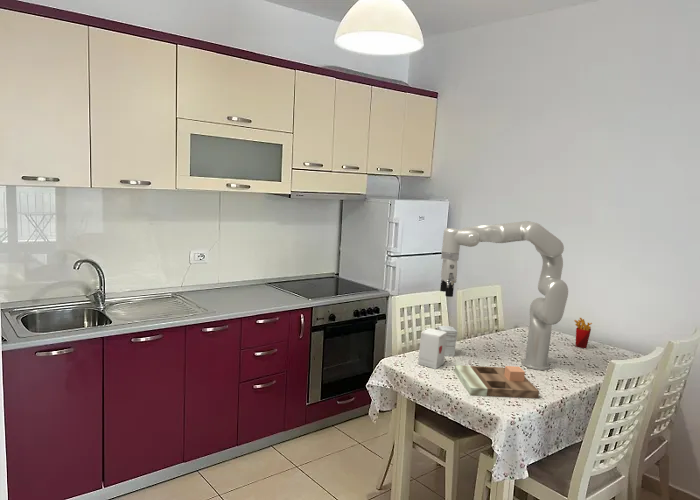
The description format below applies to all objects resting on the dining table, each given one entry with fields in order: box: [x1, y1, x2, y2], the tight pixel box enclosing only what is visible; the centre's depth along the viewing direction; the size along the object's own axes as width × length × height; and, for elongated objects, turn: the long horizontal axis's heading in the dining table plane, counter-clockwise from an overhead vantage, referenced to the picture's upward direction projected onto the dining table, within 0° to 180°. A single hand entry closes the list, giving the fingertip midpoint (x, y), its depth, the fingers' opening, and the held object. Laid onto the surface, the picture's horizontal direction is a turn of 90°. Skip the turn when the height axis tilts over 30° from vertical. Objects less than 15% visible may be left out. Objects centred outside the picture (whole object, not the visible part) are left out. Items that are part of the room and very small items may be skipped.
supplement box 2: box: [437, 325, 458, 357], centre depth 245 cm, size 7×7×13 cm
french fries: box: [574, 317, 593, 349], centre depth 272 cm, size 9×8×15 cm
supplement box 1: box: [417, 327, 447, 370], centre depth 229 cm, size 9×9×15 cm
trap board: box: [454, 364, 540, 399], centre depth 212 cm, size 27×24×3 cm
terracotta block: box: [504, 365, 526, 382], centre depth 212 cm, size 6×6×4 cm
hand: (446, 293), depth 231 cm, fingers open, 9 cm apart
